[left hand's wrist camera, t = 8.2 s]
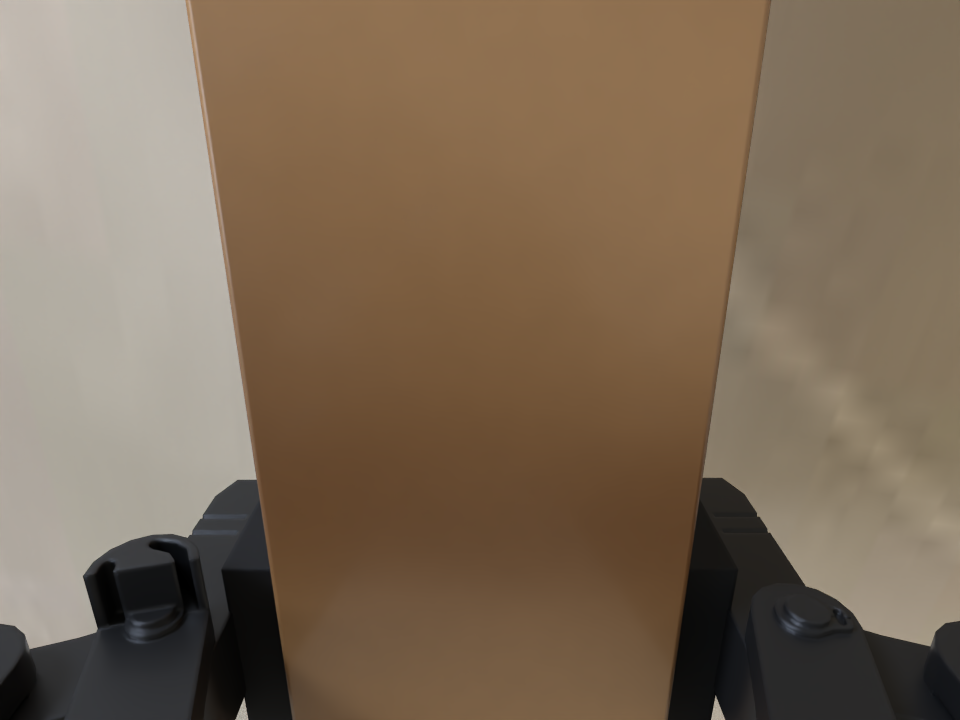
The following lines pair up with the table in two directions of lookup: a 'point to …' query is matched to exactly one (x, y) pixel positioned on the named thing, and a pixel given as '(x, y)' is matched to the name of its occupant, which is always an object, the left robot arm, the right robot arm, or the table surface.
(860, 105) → the table surface
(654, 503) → the beam
